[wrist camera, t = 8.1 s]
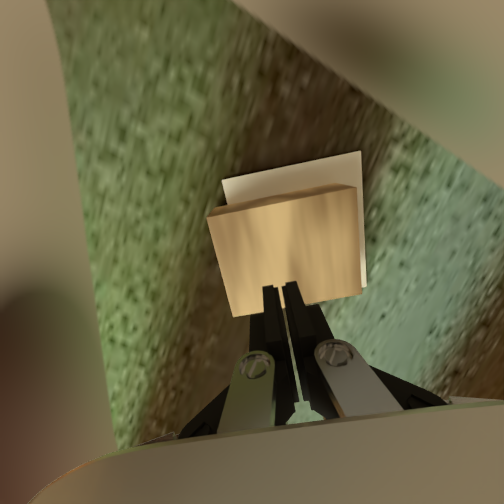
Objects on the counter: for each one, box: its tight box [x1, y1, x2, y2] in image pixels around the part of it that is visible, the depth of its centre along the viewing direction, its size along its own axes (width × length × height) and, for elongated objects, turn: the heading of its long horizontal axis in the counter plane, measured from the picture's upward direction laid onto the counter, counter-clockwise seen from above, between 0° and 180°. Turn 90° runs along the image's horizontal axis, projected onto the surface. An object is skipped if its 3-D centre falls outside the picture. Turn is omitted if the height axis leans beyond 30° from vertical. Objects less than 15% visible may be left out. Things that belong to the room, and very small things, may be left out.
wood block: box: [207, 183, 362, 317], centre depth 19 cm, size 4×8×10 cm
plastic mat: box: [222, 151, 367, 287], centre depth 21 cm, size 11×12×1 cm
